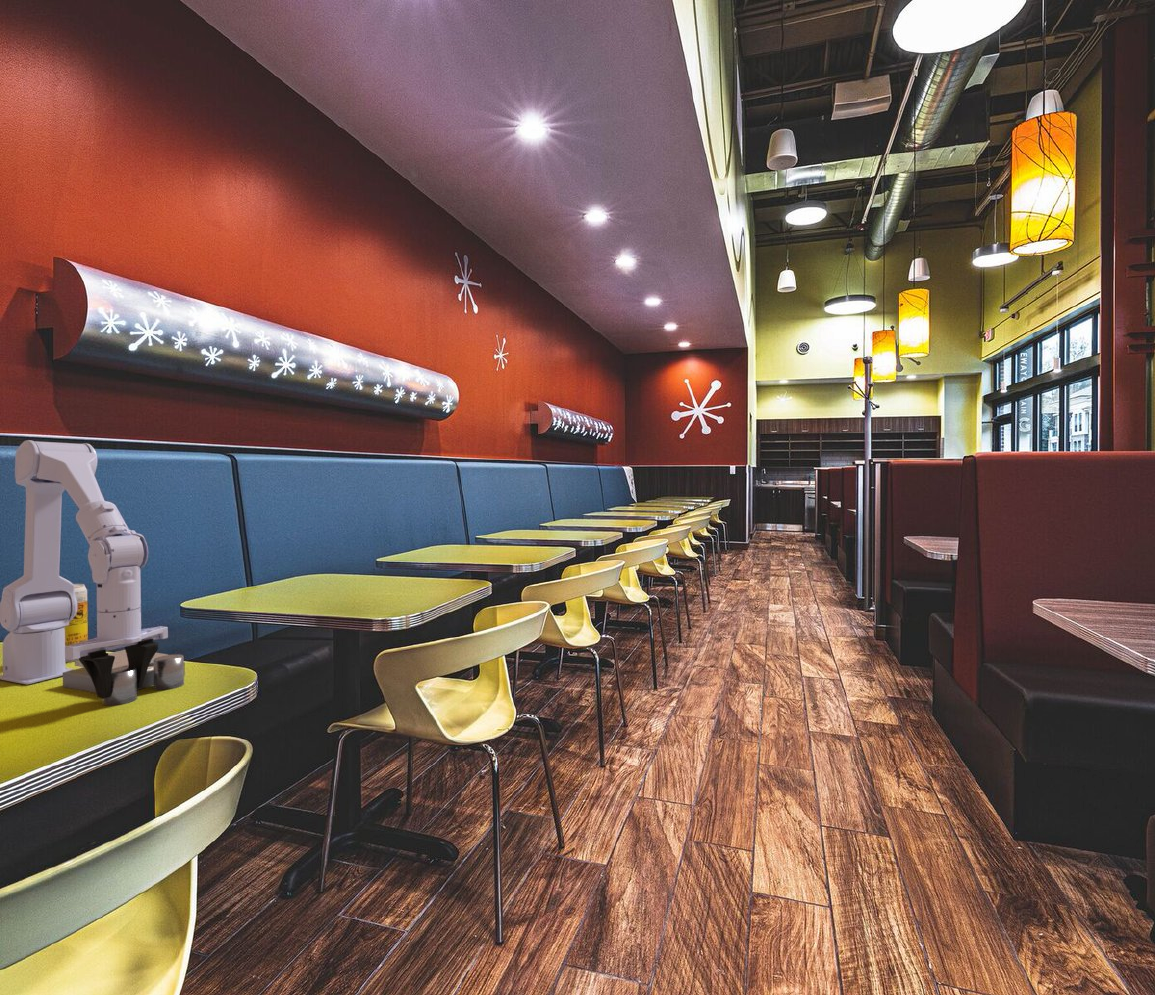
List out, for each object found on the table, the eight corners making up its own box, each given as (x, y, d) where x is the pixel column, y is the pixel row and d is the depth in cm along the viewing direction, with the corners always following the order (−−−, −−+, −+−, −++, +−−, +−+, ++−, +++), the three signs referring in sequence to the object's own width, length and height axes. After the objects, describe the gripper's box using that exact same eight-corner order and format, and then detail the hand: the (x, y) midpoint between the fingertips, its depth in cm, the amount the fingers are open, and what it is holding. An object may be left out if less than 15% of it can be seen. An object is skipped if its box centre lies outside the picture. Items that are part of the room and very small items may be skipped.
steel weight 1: (96, 703, 98) (96, 672, 98) (125, 694, 102) (125, 665, 102) (114, 707, 96) (114, 675, 96) (143, 698, 100) (143, 667, 100)
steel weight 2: (147, 688, 105) (147, 659, 105) (172, 681, 109) (172, 653, 109) (165, 691, 104) (164, 662, 103) (189, 683, 108) (189, 655, 108)
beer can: (65, 664, 119) (64, 588, 119) (40, 662, 121) (39, 587, 120) (95, 656, 125) (94, 584, 125) (71, 654, 127) (70, 583, 126)
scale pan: (74, 665, 107) (74, 661, 107) (128, 653, 116) (128, 648, 116) (115, 672, 103) (115, 667, 103) (168, 658, 112) (168, 654, 112)
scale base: (62, 686, 106) (62, 669, 106) (134, 667, 117) (134, 652, 117) (115, 696, 101) (114, 678, 101) (184, 675, 112) (184, 659, 112)
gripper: (84, 619, 91) (86, 710, 91) (179, 602, 104) (180, 681, 104) (55, 616, 93) (57, 704, 93) (151, 600, 107) (152, 677, 107)
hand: (120, 692), depth 99 cm, fingers closed on steel weight 1, 4 cm apart
